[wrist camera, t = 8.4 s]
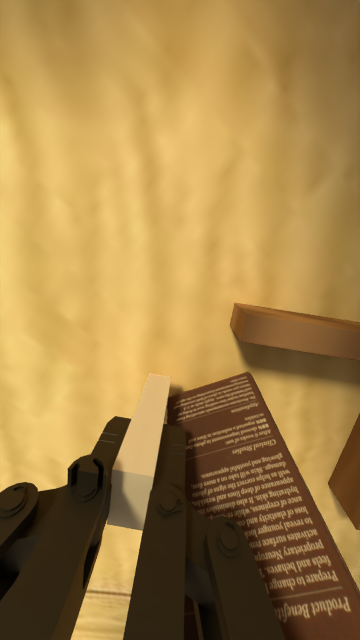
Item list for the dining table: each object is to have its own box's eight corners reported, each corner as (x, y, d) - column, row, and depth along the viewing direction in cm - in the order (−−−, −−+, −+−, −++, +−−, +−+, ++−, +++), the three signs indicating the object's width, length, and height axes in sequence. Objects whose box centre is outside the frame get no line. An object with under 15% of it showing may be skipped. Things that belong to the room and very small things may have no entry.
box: (188, 432, 16) (219, 845, 6) (166, 393, 14) (147, 922, 4) (265, 410, 15) (468, 852, 5) (252, 367, 13) (550, 957, 3)
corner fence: (199, 461, 17) (200, 502, 14) (237, 291, 13) (250, 299, 10) (346, 486, 17) (378, 533, 14) (428, 321, 13) (494, 337, 10)
